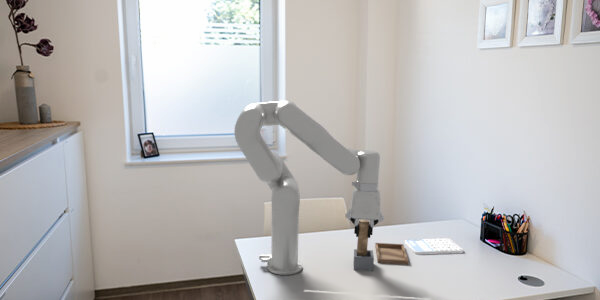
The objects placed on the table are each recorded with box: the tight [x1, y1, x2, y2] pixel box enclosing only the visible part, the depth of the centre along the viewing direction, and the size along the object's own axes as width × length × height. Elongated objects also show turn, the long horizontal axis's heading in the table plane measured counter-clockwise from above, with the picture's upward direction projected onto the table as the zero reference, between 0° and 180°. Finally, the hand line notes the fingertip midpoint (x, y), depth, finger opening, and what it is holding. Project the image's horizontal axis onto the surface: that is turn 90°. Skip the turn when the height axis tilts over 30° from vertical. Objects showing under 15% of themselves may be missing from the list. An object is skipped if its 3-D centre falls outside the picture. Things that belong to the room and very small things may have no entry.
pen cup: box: [353, 248, 375, 272], centre depth 166 cm, size 7×7×6 cm
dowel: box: [356, 219, 370, 256], centre depth 165 cm, size 4×4×12 cm
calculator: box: [404, 237, 464, 255], centre depth 188 cm, size 13×20×2 cm, turn 97°
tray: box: [374, 242, 409, 266], centre depth 177 cm, size 16×11×2 cm
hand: (363, 235), depth 165 cm, fingers closed on dowel, 3 cm apart
